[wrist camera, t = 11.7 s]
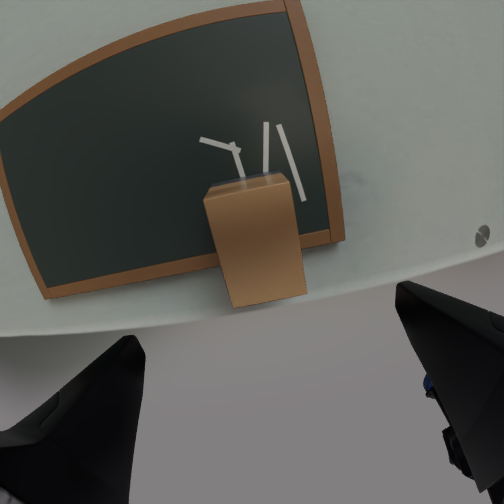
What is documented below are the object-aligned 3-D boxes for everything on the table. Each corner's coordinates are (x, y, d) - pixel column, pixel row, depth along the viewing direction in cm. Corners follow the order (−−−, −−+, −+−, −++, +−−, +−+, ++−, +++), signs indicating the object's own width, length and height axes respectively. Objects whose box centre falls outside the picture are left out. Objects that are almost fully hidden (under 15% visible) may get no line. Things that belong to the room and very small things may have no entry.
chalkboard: (340, 235, 19) (345, 240, 18) (49, 294, 21) (44, 300, 20) (296, 3, 13) (299, -3, 12) (-6, 119, 14) (-14, 120, 13)
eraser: (295, 261, 19) (307, 294, 15) (234, 273, 19) (233, 309, 15) (279, 169, 16) (289, 181, 13) (211, 183, 17) (202, 200, 13)
